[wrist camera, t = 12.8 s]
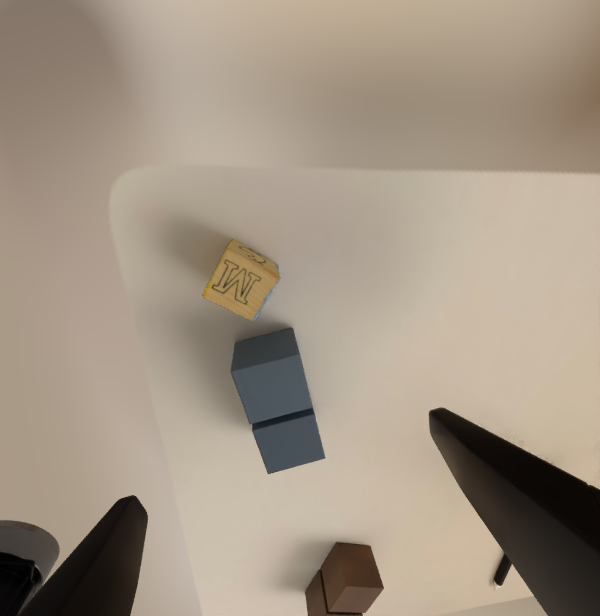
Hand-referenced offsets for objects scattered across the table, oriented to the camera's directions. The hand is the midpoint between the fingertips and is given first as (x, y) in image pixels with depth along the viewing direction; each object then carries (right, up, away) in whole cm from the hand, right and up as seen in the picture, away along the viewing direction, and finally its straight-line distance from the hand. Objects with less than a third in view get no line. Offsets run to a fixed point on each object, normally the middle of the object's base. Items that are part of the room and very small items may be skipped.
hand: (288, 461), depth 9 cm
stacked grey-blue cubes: (-1, -1, +12) cm, 12 cm away
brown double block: (+4, -24, +22) cm, 33 cm away
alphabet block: (-3, +7, +9) cm, 12 cm away
